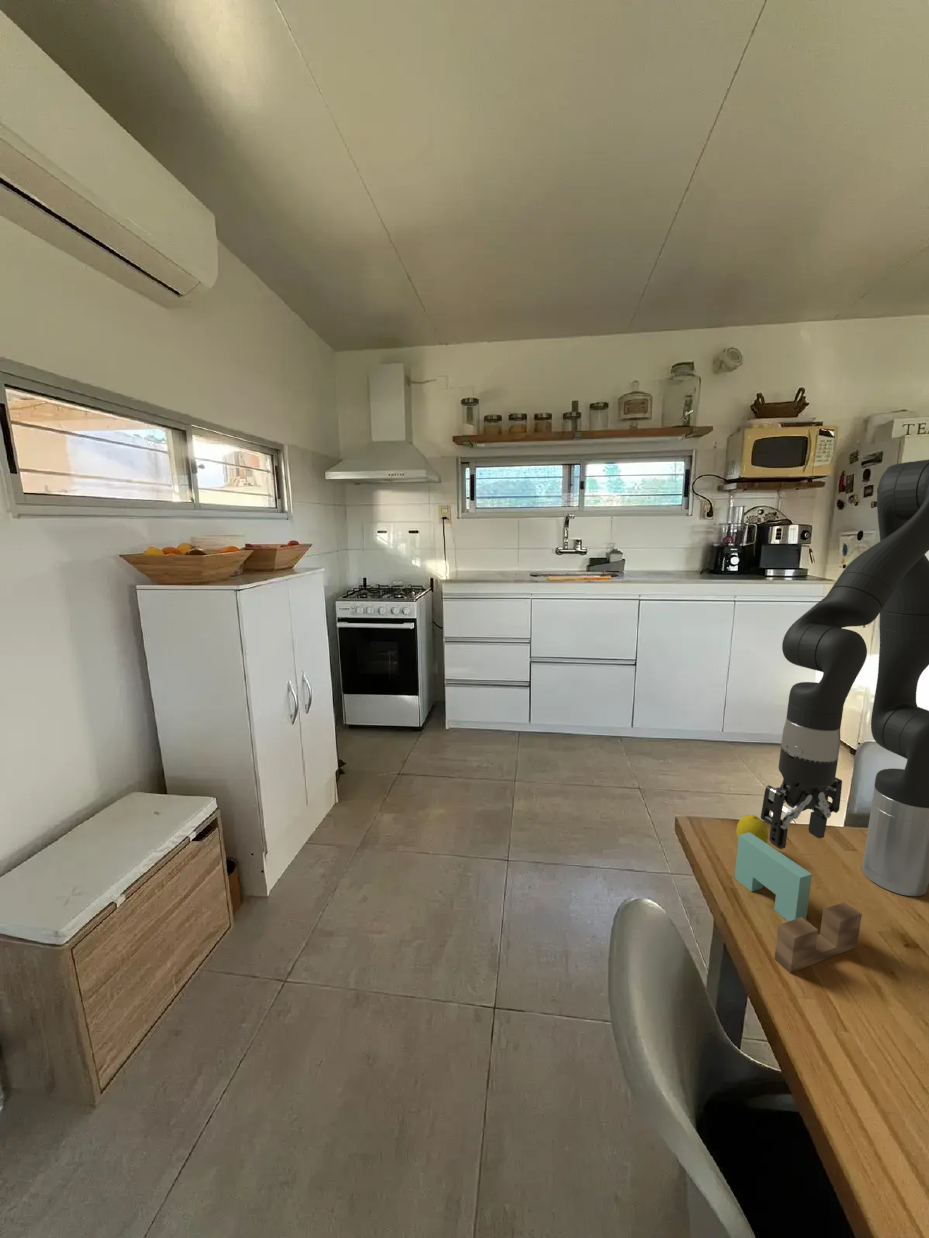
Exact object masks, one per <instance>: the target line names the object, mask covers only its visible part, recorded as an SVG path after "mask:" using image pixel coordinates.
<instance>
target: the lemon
mask: <svg viewBox="0 0 929 1238" xmlns="http://www.w3.org/2000/svg"><path fill="white" fill-rule="evenodd" d="M735 831H736V835H735V836H736V838H737V840H738V838H739V835H741V834H745V833H749V832H750V833H752V834H753V835H755V836H756V837H758V838H759V839H760V840H762V841H763V842H765V843H766V844H768V841H769V840H768V839H769V832H768V828H767V825H766V823H765V821H763V820H762V819H761V817H759V816H756V815H755V814H750V815H749V814H748V815H745V816H743V817H741V818H740V819H739V820H738V823H737V825H736V829H735Z"/></svg>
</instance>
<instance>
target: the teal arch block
mask: <svg viewBox="0 0 929 1238" xmlns="http://www.w3.org/2000/svg"><path fill="white" fill-rule="evenodd" d="M735 861H736V862H735V868H734V869H735V871H734V879H735V880H736V881H738V882H739V883H740V884H741V885H742V886H744V887H745V888H746V889H748V891H750V892H754V891H757V890H761V889H763V887H765V888H766V889H768V890H769V891H771V892H772V893H773V894H774V895H775V899H774V908H773V909H774V911H775V912H776V913H777V914H779V915H780V916H781V917H783V919H785V920H786V922H789V921H792V920H794V919H797V918H800V917H802V918H804V919H805V920H806V921H807V916H808V915H807V914H808V906H809V899H810V893H811V892H810V891H811V884H812V879H813V878H812V877H813V874H812V873H811V872H810V871H808V870H806V869H805V868H803V867H802V866H801V865H799V864H798V863H796V862H795V861H793V860H792V859H790V858H789V857H788V856H785V855H784V854H783V853H781V852H780V851H778V850H776V849H775V848H774V847H772V846H771V845H769V844H768V843H767V844H766V843H765V842H763V841H762V840H760V839H759V838H758V837H756V836H755V835H753V834H752V833H750V832H749V833H745V834H741V835H739V838H738V839H737V850H736V860H735Z"/></svg>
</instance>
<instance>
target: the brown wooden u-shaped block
mask: <svg viewBox="0 0 929 1238" xmlns="http://www.w3.org/2000/svg"><path fill="white" fill-rule="evenodd" d="M862 917H863V913H861V911H860V910H859V911H858V909H856V908H854V907H853V906H852V905H850V904H848V903H847V902H846V901H843V902H841V903H838V904H835V905H831V906H829V907H825V908H824V909H823V910H822V916H821V922H820V923H821V924H820V931H819V929H818V928H817V927H815V926H814V925H813V924H811V923H810V922H809V921H808V920H807V919H806V920H805V919H804V918H802V917H800V918H797V919H794V920H792V921H785V922H784V923H780V924H778V928H777V935H776V944H775V945H776V946H775V953H774V960H775V961H777V963H778V964H780V965H781V967H783V968H784V969H785V970H786V971H787V972H788V973H789V974H792V973H794V972H797V971H799V970H802V969H804V968H807V967H810V966H812V965H815V964H817V963H820V962H823V961H825V960H827V959H830V958H833V957H834V956H837V955H840V954H843V953H845V952H848V951H850V950H853V949H855V948H857V947H858V942H859V935H860V929H861V923H862ZM818 933H819V934H818Z"/></svg>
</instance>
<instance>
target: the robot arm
mask: <svg viewBox="0 0 929 1238" xmlns="http://www.w3.org/2000/svg"><path fill="white" fill-rule="evenodd" d="M877 486H878V487H877V492H876V508H877V509H876V510H877V511H876V512H877V521H878V529H879V530H878V531H879V532H878V533H879V541H878V542H876V543H875V544H874V545H872V546H870V547H869V548H867V549H866V550H865V551H863V552H862V553H860V554H859V555H858V556H856V557H855V558H854V559H853V560H852V561H851V562H849V564H847V566H846V567H845V568H844V570H843V571H842V572H841V573H840V574H839V576H838V578H837V579H836V581H835V582H834V584H833V585H832V587H831V588H830V590H829V592H828V593H827V595H826V596H825V597H823V598H822V599H821V600H819V601H818V602H816V604H815V605H813V606H812V607H810V609H809V610H808V611H806V612H805V613H804V614H803V615H801V616H800V617H799V618H798V619H797V620H795V622H793V623H792V625H791V626H789V628H788V629H787V631H786V633H785V634H784V636H783V639H782V644H781V646H782V647H781V648H782V649H781V650H782V653H783V657H784V658H785V659H786V661H788V662H789V663H790V664H793V665H794V666H798V667H801V668H805V669H810V670H814V671H817V672H822V677H821V679H820V681H819V682H813V681H811V682H810V681H801V682H797V683H794V685H792V686H791V688H790V690H789V693H788V694H789V695H788V703H787V711H786V718H785V722H784V726H783V729H782V737H781V745H780V751H779V760H778V770H779V773H780V775H781V776H782V778H783V779H782V783H781V785H780V787H774V786H772V785H769V784H768V785H766V787H765V790H764V794H763V801H762V808H761V811H760V812H761V813H760V819H761V820H762V821H763V822H764V823H765V822H766V823H767V824H768V825H770V831H769V832H770V833H769V837H768V839H769V841H770V844H771V845H772V846H775V848H778V849H779V850H783V849H785V848H786V846H787V840H788V839H787V837H788V831H789V829H788V827H789V825H790V824H791V822H792V821H793V819H794V820H796V819H798V818H799V817H800V815H801V813H802V812H804V811H807V810H811V811H810V815H809V817H810V818H809V821H808V822H809V823H808V833H809V834H811V835H812V836H813V837H815V838H817V839H823V838H824V837H825V833H826V831H827V829H826V828H827V822H828V819H829V818H831V816H832V813H836V814H837V813H838V812H839V811H840V806H841V797H842V788H843V787H842V786H843V780H842V779H840V778H838V777H836V774H837V769H838V761H839V757H840V755H839V753H840V747H841V726H842V722H843V721H842V719H843V713H844V708H845V707H844V706H845V702H846V700H847V697H848V696H849V693H850V692H851V689H852V687H853V685H854V683H855V681H856V679H857V678H858V675H859V674H860V672H861V670H862V668H863V667H864V664H865V663H866V660H867V657H868V649H867V644H866V641H865V640H864V638H863V636H862V635H861V634H860V633H858V632H856V631H854V630H852V629H847V628H849V627H863V626H868V625H870V624H871V623H873V622H874V621H875V620H876V619H877V617H878V616H879V623H878V625H879V628H878V629H879V652H878V653H879V654H878V664H877V665H878V667H877V678H876V679H877V680H876V686H875V693H874V698H873V705H872V710H871V711H872V712H871V717H870V729H871V730H870V732H871V735H872V738H873V740H874V742H875V743H876V744H877V745H879V746H880V747H881V748H882V749H885V750H887V751H888V752H891V753H893V754H895V755H898V756H900V757H902V758H904V759H906V764H905V766H904V768H903V769H902V768H884V769H881V770H878V772H877V773H876V775H875V780H874V787H873V794H872V798H871V799H872V800H871V807H870V815H869V821H868V827H867V833H866V840H865V846H864V853H863V859H862V865H861V870H862V872H863V874H864V876H865V877H866V878H868V880H870V881H871V882H873V883H874V884H876V885H878V886H879V887H881V888H882V889H885V890H888V891H890V892H892V893H895V894H898V895H902V896H906V897H907V896H908V897H920V896H923V895H925V894H926V893H927V891H928V887H929V886H928V885H929V709H925V708H922V707H919V706H918V704H917V692H918V691H917V689H918V683H919V680H920V678H921V675H922V674H923V673H924V671H925V669H927V668H928V666H929V558H928V557H927V556H926V554H927V553H928V552H929V459H924V460H921V459H920V460H916V461H908V462H907V461H906V462H901V463H897V464H893V465H890V466H889V467H888V468H887V469H885V471H884V472H883V474H882V475H881V477H880V479H879V483H878V485H877ZM829 798H831V801H830V800H829ZM784 804H786V805H787V806H788V807H790V808H792V809H789V808H787V807H786V806H784ZM770 812H771V813H770ZM782 813H784V814H785V815H784V817H783V818H782Z"/></svg>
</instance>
